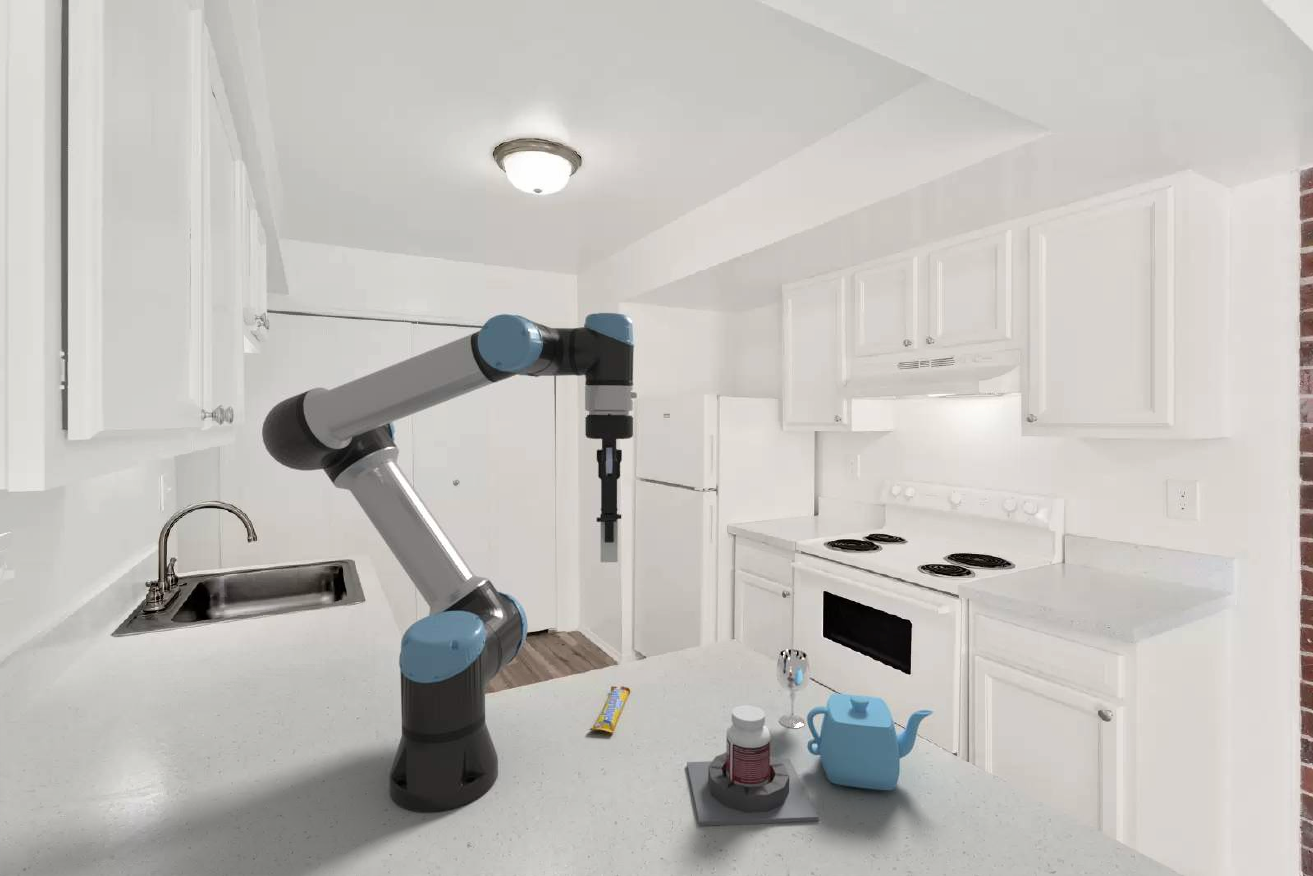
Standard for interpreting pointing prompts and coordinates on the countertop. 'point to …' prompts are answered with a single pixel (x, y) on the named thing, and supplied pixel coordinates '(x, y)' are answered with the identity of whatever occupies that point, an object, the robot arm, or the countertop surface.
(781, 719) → the wineglass
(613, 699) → the candy bar
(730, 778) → the pill bottle
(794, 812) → the grey ring base plate
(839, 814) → the countertop surface
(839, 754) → the teapot
